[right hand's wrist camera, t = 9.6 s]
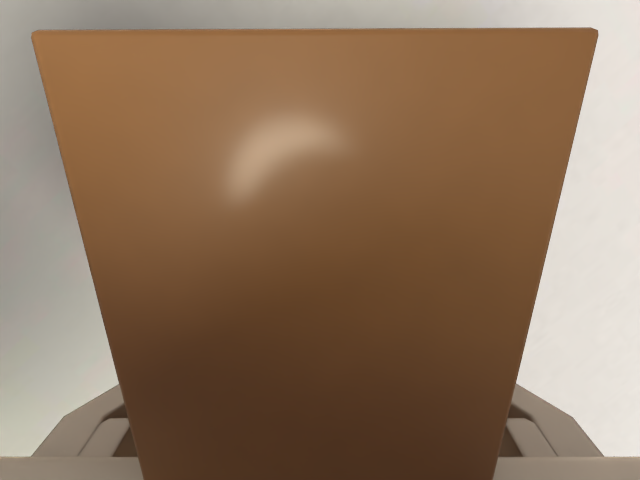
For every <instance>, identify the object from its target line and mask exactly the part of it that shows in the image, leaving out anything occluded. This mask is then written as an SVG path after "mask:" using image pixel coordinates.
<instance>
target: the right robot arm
mask: <svg viewBox="0 0 640 480" xmlns="http://www.w3.org/2000/svg"><path fill="white" fill-rule="evenodd" d="M0 480H144V479H143V475H142V471H141V467H140V463H139V460H138V456H137V452H136V448H135V444H134V440H133V436H132V432H131V428H130V424H129V420H128V416H127V412H126V408H125V404H124V401H123V397H122V393H121V389H120V385H119V384H118V385H117V386H115V387H113V388H112V389H110V390H108V391H106V392H105V393H103V394H101V395H100V396H98V397H96V398H95V399H93V400H91V401H90V402H88V403H86V404H84V405H83V406H81V407H79V408H78V409H76V410H74V411H73V412H71V413H69V414H67V415H66V416H64V417H63V418H62V419H61V421H60V422H59V423H58V424H57V425H56V427H55V428H54V429H53V430H52V432H51V433H50V434H49V435H48V436H47V438H46V439H45V440H44V441H43V442H42V444H41V445H40V446H39V447H38V448H37V450H36V451H35V452H34V453H33V455H32V456H31V457H0ZM493 480H640V457H604V456H603V454H602V453H601V452H600V451H599V449H598V448H597V447H596V446H595V444H594V443H593V442H592V441H591V439H590V438H589V437H588V436H587V434H586V433H585V432H584V431H583V430H582V428H581V427H580V426H579V425H578V423H577V422H576V421H575V420H574V418H573V417H571V416H570V415H568V414H566V413H565V412H563V411H561V410H560V409H558V408H556V407H555V406H553V405H551V404H550V403H548V402H546V401H544V400H543V399H541V398H539V397H538V396H536V395H534V394H533V393H531V392H529V391H528V390H526V389H524V388H523V387H521V386H519V385H518V384H515V388H514V393H513V397H512V401H511V405H510V410H509V414H508V418H507V422H506V426H505V431H504V435H503V439H502V443H501V447H500V452H499V456H498V460H497V464H496V468H495V473H494V477H493Z"/></svg>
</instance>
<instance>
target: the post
mask: <svg viewBox="0 0 640 480" xmlns="http://www.w3.org/2000/svg"><path fill="white" fill-rule="evenodd" d="M31 39H32V43H33V47H34V51H35V55H36V58H37V62H38V66H39V70H40V74H41V78H42V82H43V86H44V90H45V94H46V98H47V102H48V106H49V110H50V113H51V117H52V121H53V125H54V129H55V133H56V137H57V141H58V145H59V149H60V153H61V157H62V161H63V165H64V169H65V172H66V176H67V180H68V184H69V188H70V192H71V196H72V200H73V204H74V208H75V212H76V216H77V220H78V224H79V228H80V231H81V235H82V239H83V243H84V247H85V251H86V255H87V259H88V263H89V267H90V271H91V275H92V279H93V283H94V287H95V290H96V294H97V298H98V302H99V306H100V310H101V314H102V318H103V322H104V326H105V330H106V334H107V338H108V342H109V346H110V349H111V353H112V357H113V361H114V365H115V369H116V373H117V377H118V381H119V385H120V389H121V393H122V397H123V401H124V404H125V408H126V412H127V416H128V420H129V424H130V428H131V432H132V436H133V440H134V444H135V448H136V452H137V456H138V460H139V463H140V467H141V471H142V475H143V479H144V480H493V477H494V473H495V468H496V464H497V460H498V456H499V452H500V447H501V443H502V439H503V435H504V431H505V426H506V422H507V418H508V414H509V410H510V405H511V401H512V397H513V393H514V388H515V384H516V380H517V376H518V372H519V367H520V363H521V359H522V355H523V351H524V346H525V342H526V338H527V334H528V329H529V325H530V321H531V317H532V313H533V308H534V304H535V300H536V296H537V292H538V287H539V283H540V279H541V275H542V270H543V266H544V262H545V258H546V254H547V249H548V245H549V241H550V237H551V233H552V228H553V224H554V220H555V216H556V211H557V207H558V203H559V199H560V195H561V190H562V186H563V182H564V178H565V174H566V169H567V165H568V161H569V157H570V152H571V148H572V144H573V140H574V136H575V131H576V127H577V123H578V119H579V115H580V110H581V106H582V102H583V98H584V93H585V89H586V85H587V81H588V77H589V72H590V68H591V64H592V60H593V56H594V51H595V47H596V43H597V39H598V30H596V29H593V28H365V29H128V30H37V31H35V32H32V35H31Z"/></svg>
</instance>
